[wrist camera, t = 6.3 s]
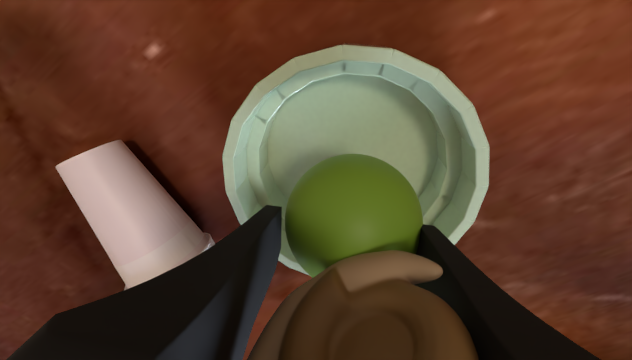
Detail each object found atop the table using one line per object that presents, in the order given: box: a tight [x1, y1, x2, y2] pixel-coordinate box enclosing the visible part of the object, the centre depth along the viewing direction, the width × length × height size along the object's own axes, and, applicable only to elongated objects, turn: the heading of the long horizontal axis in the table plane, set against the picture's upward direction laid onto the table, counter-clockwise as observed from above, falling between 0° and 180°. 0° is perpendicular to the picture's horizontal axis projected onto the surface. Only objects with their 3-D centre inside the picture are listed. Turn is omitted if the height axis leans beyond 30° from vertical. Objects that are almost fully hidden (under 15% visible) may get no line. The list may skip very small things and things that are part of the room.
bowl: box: [222, 43, 489, 275], centre depth 16 cm, size 13×13×4 cm
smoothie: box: [56, 140, 215, 290], centre depth 20 cm, size 6×6×14 cm
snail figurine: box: [247, 154, 479, 360], centre depth 9 cm, size 5×6×12 cm
